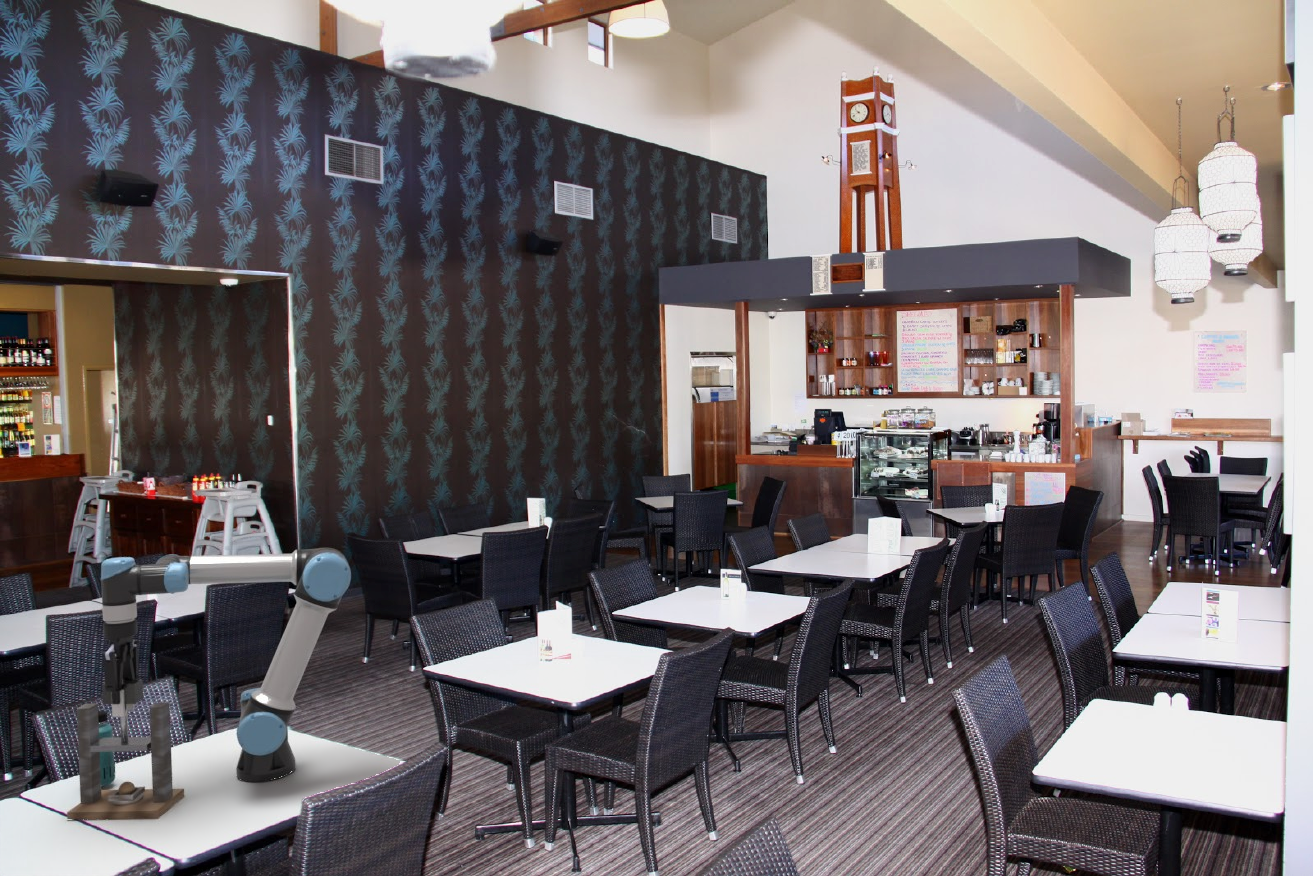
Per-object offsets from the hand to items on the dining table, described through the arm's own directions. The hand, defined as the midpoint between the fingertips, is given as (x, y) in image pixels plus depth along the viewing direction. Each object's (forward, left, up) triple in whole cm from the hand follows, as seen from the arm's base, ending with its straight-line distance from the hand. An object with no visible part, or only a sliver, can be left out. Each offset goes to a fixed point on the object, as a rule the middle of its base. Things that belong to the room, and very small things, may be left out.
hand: (123, 713), depth 253 cm
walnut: (0, 0, -19) cm, 19 cm away
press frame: (0, 0, -24) cm, 24 cm away
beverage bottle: (+14, -14, -24) cm, 31 cm away
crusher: (0, 0, -9) cm, 9 cm away
